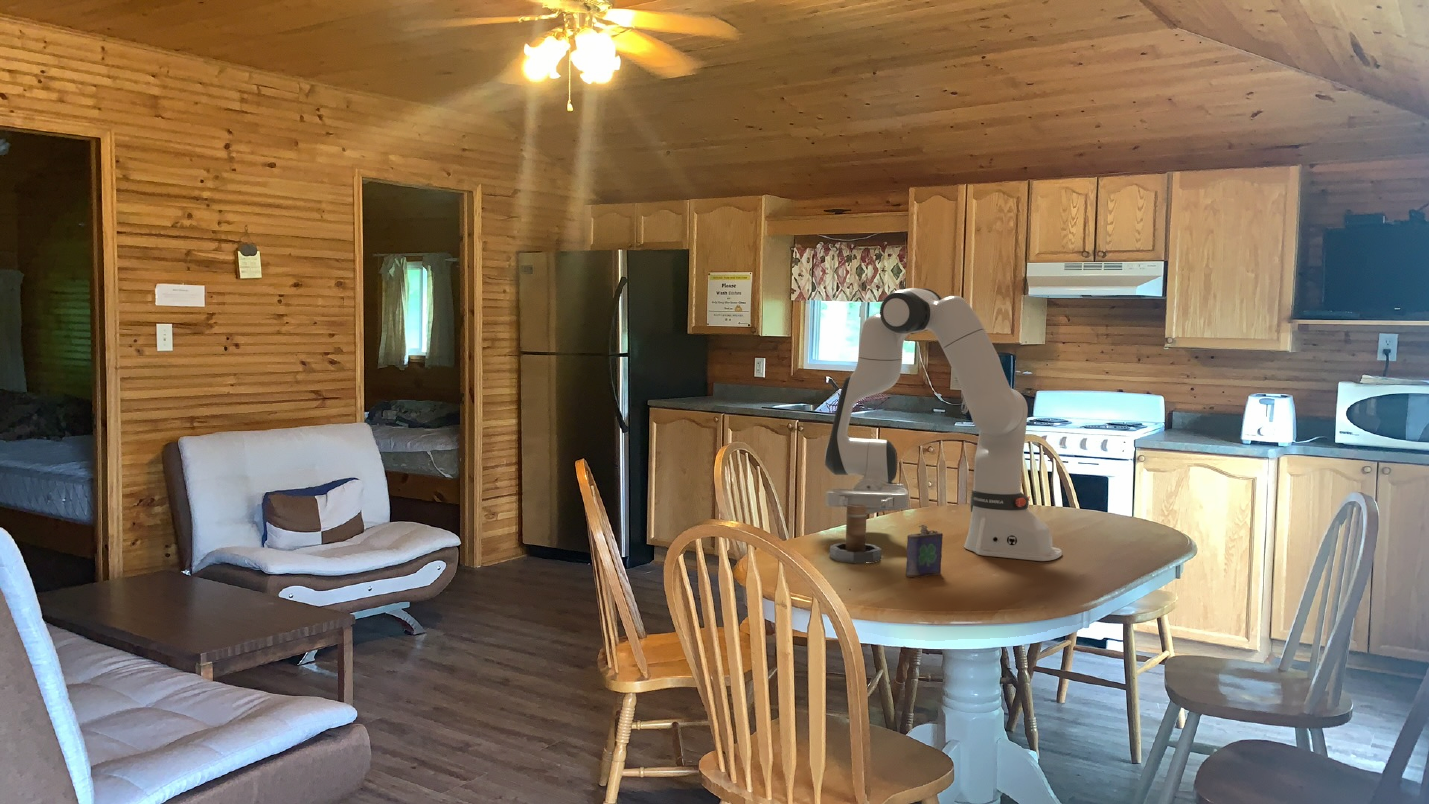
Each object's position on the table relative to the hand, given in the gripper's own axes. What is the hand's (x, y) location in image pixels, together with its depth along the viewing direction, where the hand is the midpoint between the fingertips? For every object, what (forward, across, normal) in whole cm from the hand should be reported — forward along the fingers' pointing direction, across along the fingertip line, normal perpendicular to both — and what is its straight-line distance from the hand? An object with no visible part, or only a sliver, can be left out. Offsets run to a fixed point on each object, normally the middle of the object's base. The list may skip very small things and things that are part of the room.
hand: (864, 503), depth 254 cm
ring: (+12, -1, +11) cm, 16 cm away
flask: (+24, +15, +12) cm, 31 cm away
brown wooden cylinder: (+12, -1, +11) cm, 16 cm away
